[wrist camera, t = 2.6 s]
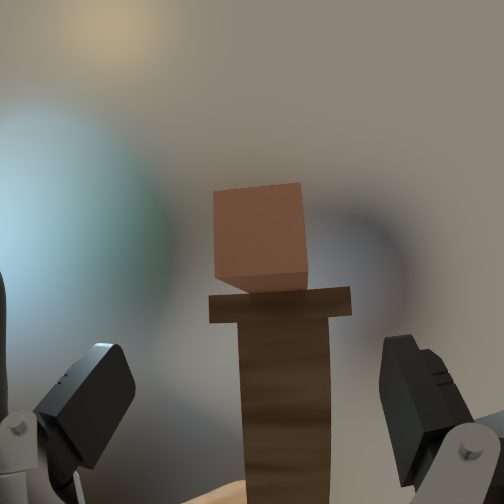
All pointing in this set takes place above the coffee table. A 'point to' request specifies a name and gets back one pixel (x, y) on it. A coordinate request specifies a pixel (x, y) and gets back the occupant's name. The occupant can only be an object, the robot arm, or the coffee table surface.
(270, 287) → the brick
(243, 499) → the coffee table surface
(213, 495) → the coffee table surface
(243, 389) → the shelf stand
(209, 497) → the coffee table surface
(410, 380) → the robot arm
